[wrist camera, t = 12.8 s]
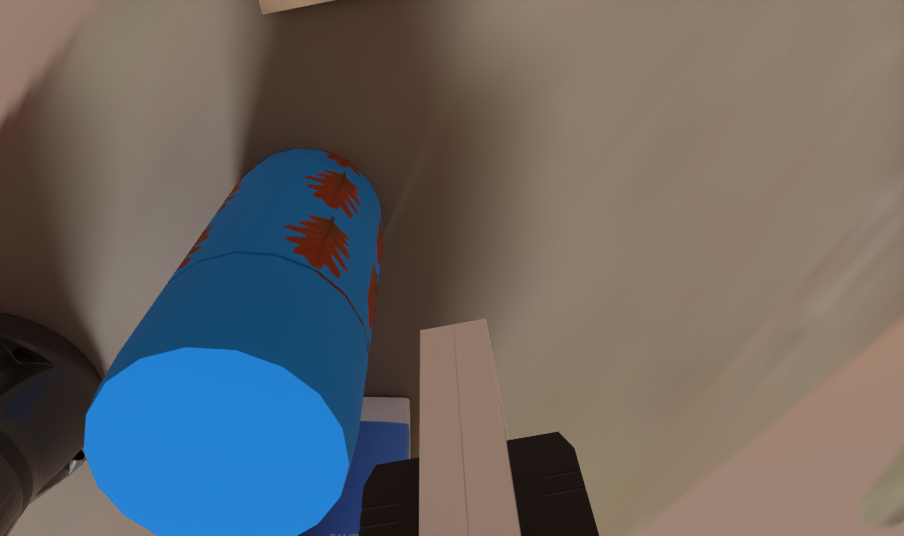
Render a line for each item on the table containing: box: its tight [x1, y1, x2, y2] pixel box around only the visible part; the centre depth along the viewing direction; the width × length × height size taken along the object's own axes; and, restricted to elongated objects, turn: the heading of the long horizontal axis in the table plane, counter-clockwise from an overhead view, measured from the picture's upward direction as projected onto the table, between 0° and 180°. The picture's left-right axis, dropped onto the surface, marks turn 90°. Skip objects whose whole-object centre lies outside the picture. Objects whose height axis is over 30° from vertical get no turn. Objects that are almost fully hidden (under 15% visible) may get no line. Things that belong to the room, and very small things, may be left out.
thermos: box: [84, 148, 383, 536], centre depth 40 cm, size 11×11×25 cm
